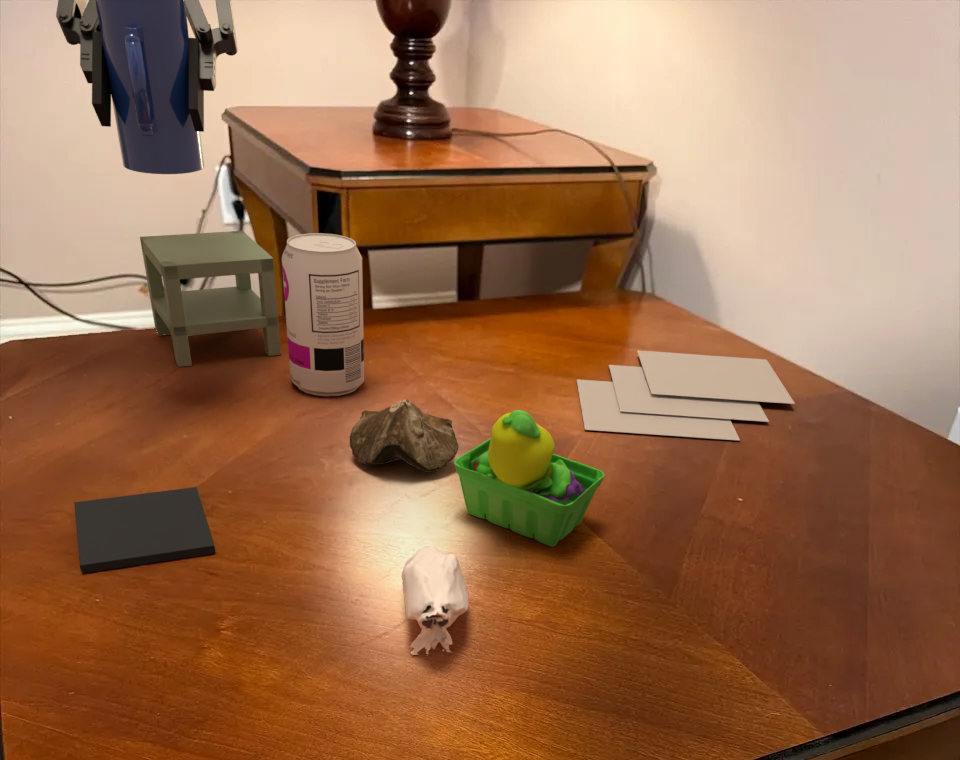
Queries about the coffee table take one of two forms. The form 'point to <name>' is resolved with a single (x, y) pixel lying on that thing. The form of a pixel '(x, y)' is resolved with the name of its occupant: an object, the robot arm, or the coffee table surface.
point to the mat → (141, 529)
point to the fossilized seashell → (404, 437)
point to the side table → (210, 306)
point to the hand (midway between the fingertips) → (149, 117)
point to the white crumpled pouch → (433, 595)
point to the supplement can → (324, 313)
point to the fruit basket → (526, 481)
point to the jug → (150, 84)
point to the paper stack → (681, 395)
